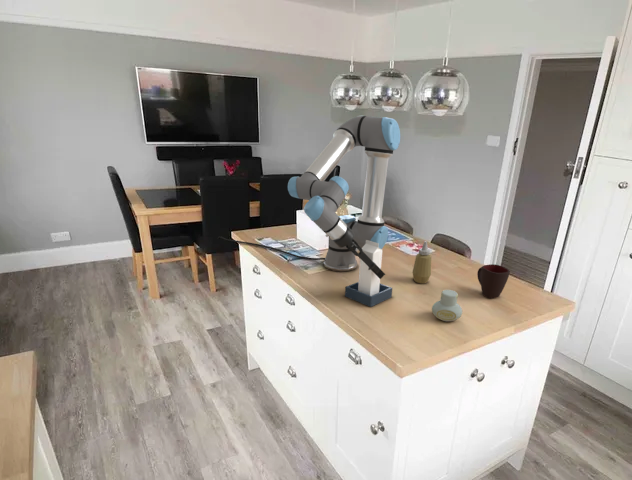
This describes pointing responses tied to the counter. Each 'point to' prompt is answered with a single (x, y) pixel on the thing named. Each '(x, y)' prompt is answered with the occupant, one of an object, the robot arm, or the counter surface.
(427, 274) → the squeeze bottle
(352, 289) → the blue square tray
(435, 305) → the air freshener
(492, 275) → the cup
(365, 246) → the milk
